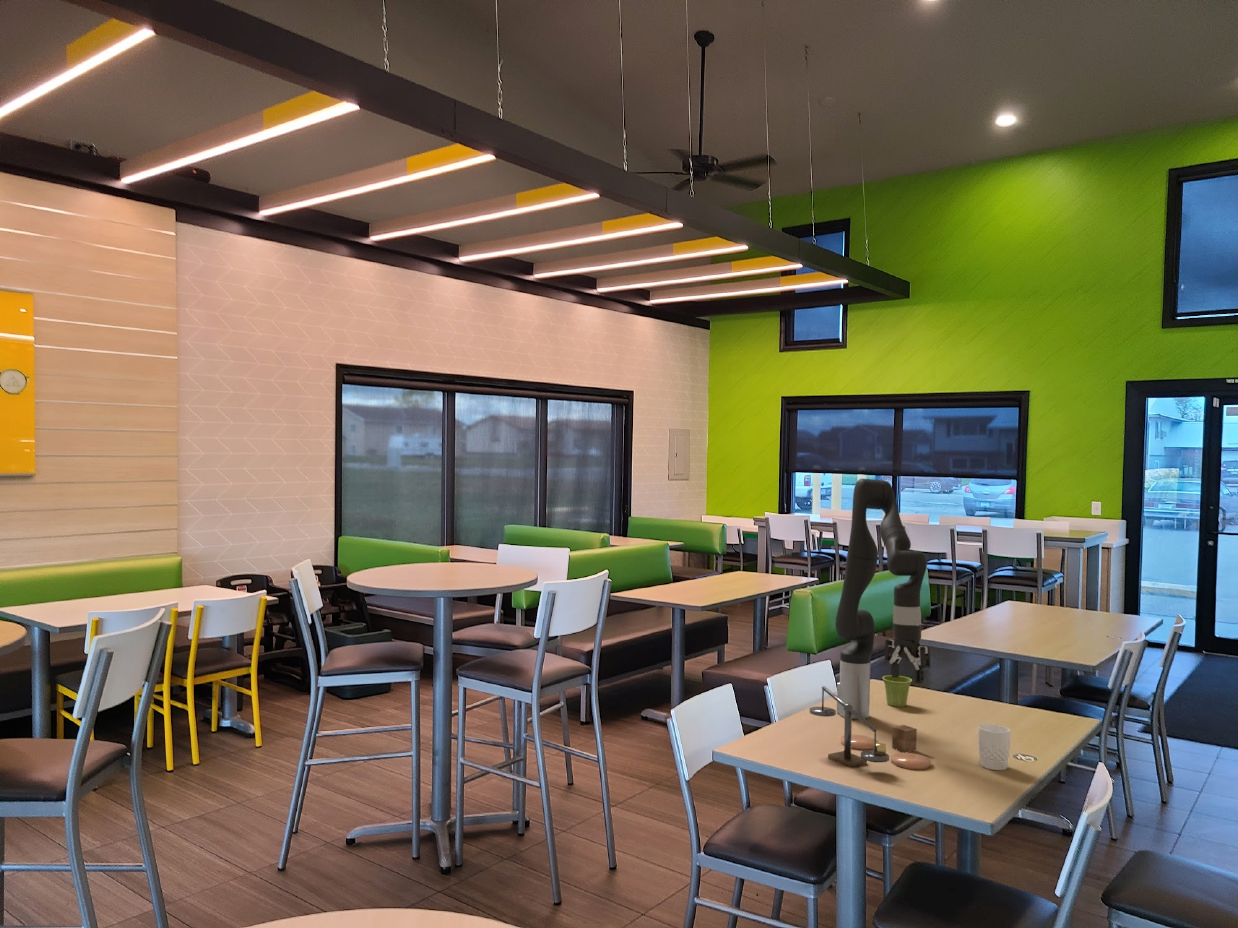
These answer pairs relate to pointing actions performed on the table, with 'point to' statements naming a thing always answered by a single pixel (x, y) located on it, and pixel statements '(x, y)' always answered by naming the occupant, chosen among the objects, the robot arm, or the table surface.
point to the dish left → (860, 742)
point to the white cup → (994, 746)
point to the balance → (846, 756)
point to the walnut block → (904, 738)
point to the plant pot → (897, 690)
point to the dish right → (910, 761)
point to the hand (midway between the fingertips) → (907, 680)
